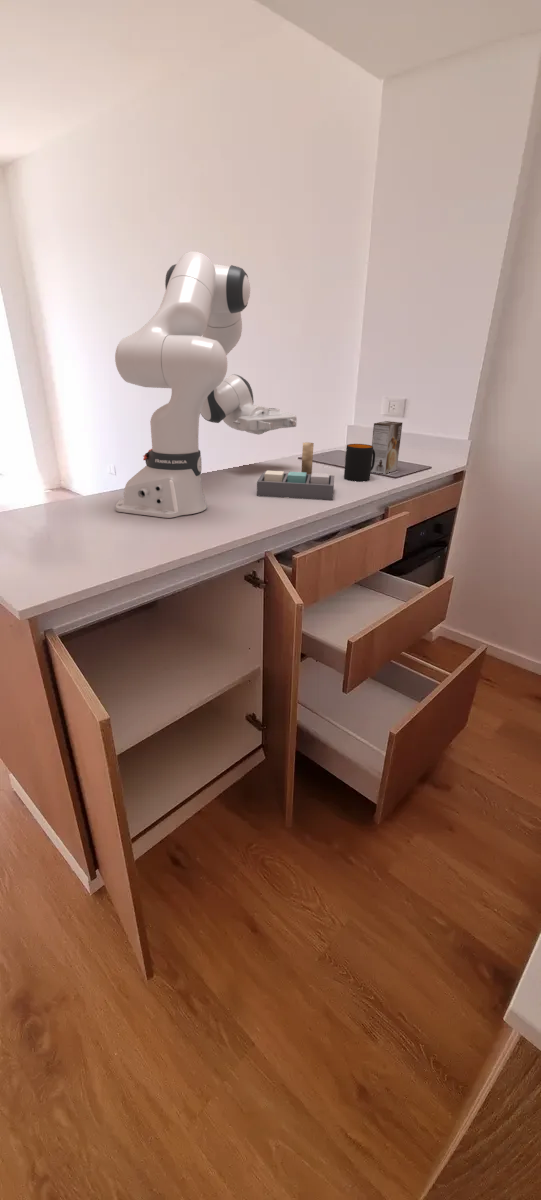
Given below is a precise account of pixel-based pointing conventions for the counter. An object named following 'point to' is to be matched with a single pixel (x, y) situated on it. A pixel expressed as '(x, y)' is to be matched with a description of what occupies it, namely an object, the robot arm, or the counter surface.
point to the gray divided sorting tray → (295, 488)
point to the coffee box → (386, 446)
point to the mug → (359, 462)
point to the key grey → (319, 478)
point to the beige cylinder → (307, 457)
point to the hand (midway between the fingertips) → (283, 425)
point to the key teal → (297, 477)
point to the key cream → (274, 476)
